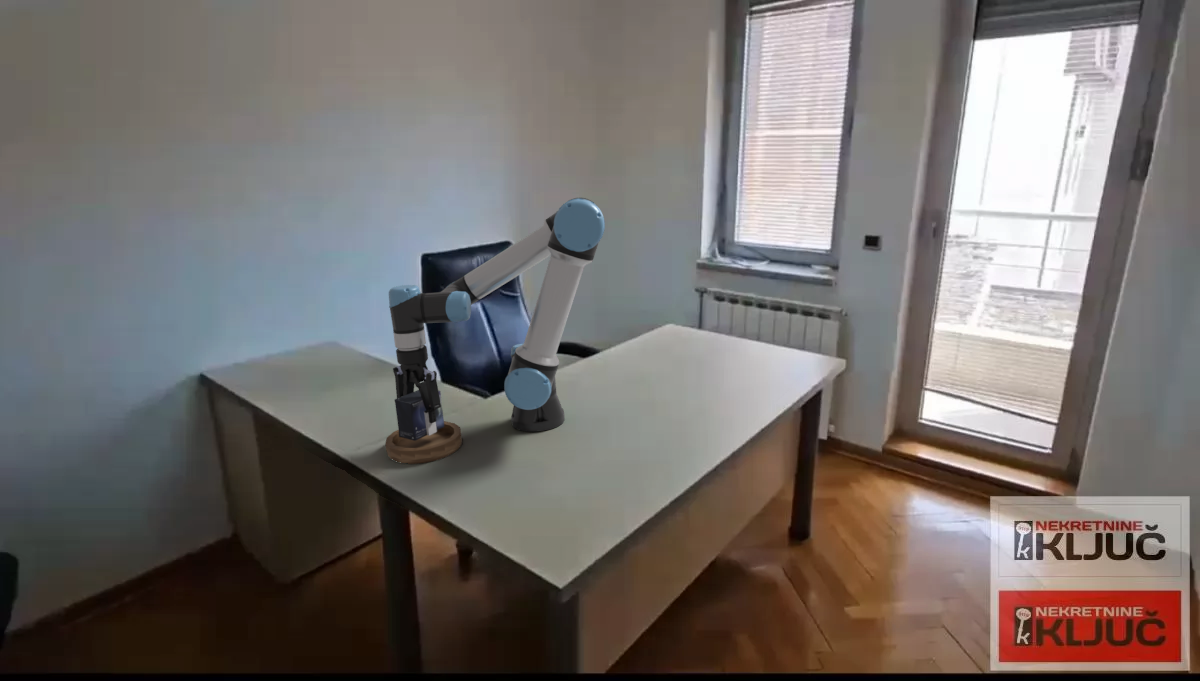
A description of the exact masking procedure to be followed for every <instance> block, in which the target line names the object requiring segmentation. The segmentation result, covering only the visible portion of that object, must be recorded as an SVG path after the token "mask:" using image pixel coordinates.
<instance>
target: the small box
mask: <svg viewBox="0 0 1200 681" xmlns="http://www.w3.org/2000/svg"><path fill="white" fill-rule="evenodd" d="M438 392H439V397H440V402H441V407H440V408H438V409H436V410H435V411H436V419H437V420H436V428H437V430H439V429H441V428H443V427H444V421H445V420H444V412H443V411H444V410H443V403H442V396H441V395H442V393H441V390H438ZM394 405H395V413H396V420H397V428H398V429H397V430H399V437H402V438H406V439H410V440H414V441H416V440H418V439H420V438H422V437H424V436H426V435H427V430H426V423H425V415H424V411H426V408H425V405H424V403H423V400H422V397H421V394H420V392H419V389H417V390H414V392H412V393H410V394H407V395H405V396H402V397H399V398H397V397H396V398H395V399H394Z"/></svg>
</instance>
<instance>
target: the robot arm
mask: <svg viewBox="0 0 1200 681" xmlns="http://www.w3.org/2000/svg"><path fill="white" fill-rule="evenodd" d="M604 217H605V216H604V215H603V212H602V210H601V209H600V208H599V206H598V205H597V204H596V203H595V202H594V201H593V200H592V199H588V198H586V197H575V198H571V199H569V200H567V201H566V202H565V203H563V204H562V205H561V206H560V207H559V208H558V210H557V211H556V212H554V213H553V214H552V215H550V216H549V217H547V218H546V219H544V220H543V224H542V226H540V227H539V228H537V229H535V230H534V231H533V232H531V233H529V234H528V235H526V236H525V237H523V238H521V239H520V240H519V241H517V242H515V243H514V244H512V245H511V246H509V247H507V248H506V249H504V250H503V251H501V252H499V253H498V254H496V255H495V256H493V257H492V258H490V259H489V260H487V261H485V262H484V263H482V264H480V265H479V266H478V267H476V268H474V269H472V270H471V271H469V272H468V273H466V274H465V275H464V276H462V277H460V278H459V279H457V280H455V281H453V282H451V283H449V284H448V285H447V286H445V288H444V289H442V290H441V291H438V292H426V293H425V292H421V291H420V286H418V285H415V284H404V285H403V284H402V285H398V286H394V287H391V288H390V289H389V291H388V300H389V307H388V308H389V311H390V318H391V324H392V330H393V331H392V332H393V333H392V334H393V341H394V347H395V348H396V350H395V354H396V359H397V363H398V364H399V365H398V366H395V367H393V368H392V372H393V374H394V380H395V390H396V391H395V392H396V393H395V394H396V399H397V398H399V397H402V396H405V395H407V394H410V393H412V392H415V387H416V388H417V390H419V392H420V394H421V397H422V400H423V403H424V405H425V408H426V411H424V415H425V423H426V430H427V435H428V436H430V435H432V434H434V433H436V432H437V428H436V420H437V419H436V411H435V410H436V409H438V408H440V407H441V402H442V401H441V402H440V397H439V392H438V391H439V388H438V387H439V386H438V383H437V378H438V377H437V376H438V375H437V371H436V370H433V371H432V370H429V368H428V366H427V361H428V360H429V355H428V347H427V346H426V344H427V340H426V333H425V324H433V323H434V324H435V323H437V324H438V323H458V322H467V321H468V320H470V318H471V314H472V305H473V304H475V303H477V302H478V301H479V300H481V299H482V298H485V297H486V296H487V295H489V294H491V293H492V292H494V291H495V290H498V289H499V288H501V287H502V286H503V285H505V284H507V283H508V282H510V281H512V280H514V279H515V278H516V277H519V275H521V274H523V273H524V272H526V271H527V270H528V271H529V269H531V268H533V267H534V266H536V265H538V264H540V263H541V262H542V261H544V260H546V259H548V258H549V261H548V264H547V267H546V270H545V273H544V277H543V280H542V284H541V287H540V290H539V294H538V296H537V300H536V303H535V307H534V309H533V313H532V316H531V319H530V323H529V325H528V329H527V333H526V336H525V339H524V342H523V343H517V344H514V345H513V346H512V347H511V348H510V357H511V363H510V367H509V370H508V373H507V375H506V377H505V379H504V382H503V383H504V386H503V387H504V393H505V397H506V398H507V401H509V402H510V404H512V405H513V408H512V412H511V418H510V420H511V426H512V427H513V428H514V429H515V430H518V431H523V432H530V433H531V432H543V431H548V430H552V429H554V428H557V427H559V426H561V425H562V424H564V422H565V420H566V419H565V410H564V408H563V406H562V404H561V401H560V399H559V397H558V393H557V385H556V384H557V383H556V375H557V372H558V369H559V365H560V359H559V358H558V356H557V353H558V350H559V346H560V343H561V340H562V336H563V333H564V330H565V328H566V324H567V320H568V317H569V315H570V311H571V309H572V306H573V303H574V299H575V296H576V293H577V291H578V288H579V285H580V281H581V279H582V275H583V272H584V269H585V266H587V265H589V264H591V263H592V262H593V261H594V258H595V255H596V252H597V249H598V246H599V242H600V241H601V240H602V238H603V235H604V233H605V227H606V224H605V222H606V221H605V218H604Z"/></svg>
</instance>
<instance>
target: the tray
mask: <svg viewBox="0 0 1200 681" xmlns="http://www.w3.org/2000/svg"><path fill="white" fill-rule="evenodd" d="M384 444H385V449H386V453H387V457H388V456H389V457H390V458H391V459H393V460H395V461H397V462H401V463H400V464H402V463H408V464H407V465H418V464H419V465H420V464H427V463H431V462H436V461H438V460H439V461H440V460H441V459H445V458H447V457H450V456H451V455H453V454H455V453H456V452H457V451H459V449H460V448H461V447H462V444H463V440H462V430H461V426H459V425H458V424H456V423H455V422H450V421H445V420H444V427H443V428H441V429H439V430H437V432H436V433H434V434H432V435H430V436H428V435H426V436H424V437H422V438H420V439H418V440H416V441H414V440H410V439H406V438H402V437H399V429H396V430H395V431H393V432H392V433H390V435H388V436H387V437H386V439H385V442H384ZM389 457H388V458H389ZM390 458H389V459H390ZM391 459H390V460H391ZM397 462H396V463H397Z"/></svg>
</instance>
